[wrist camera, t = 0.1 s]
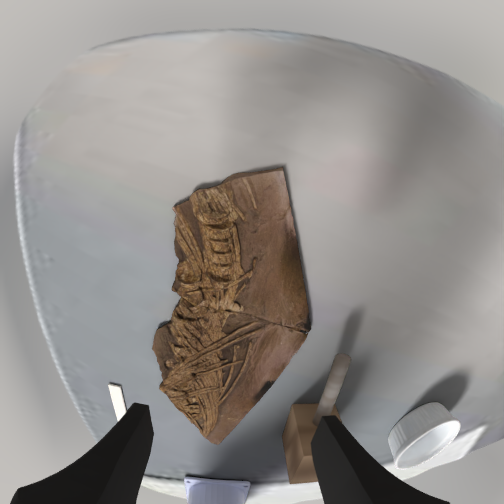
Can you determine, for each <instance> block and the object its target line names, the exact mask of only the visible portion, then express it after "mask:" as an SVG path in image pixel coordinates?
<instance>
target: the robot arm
mask: <svg viewBox="0 0 504 504" xmlns="http://www.w3.org/2000/svg"><path fill="white" fill-rule="evenodd" d="M153 436H154V432H153V427H152V422H151V416H150V410H149V405H144V404H139V403H133V404H132V405H131V407H130V408H129V409H128V410H127V412H126V413H125V414H124V415H123V417H122V418H121V419H120V420H119V421H118V422H117V424H116V425H115V426H114V427H113V428H112V429H111V430H110V431H109V432H108V433H107V434H106V435H105V436H104V437H103V438H102V439H101V440H100V441H99V442H98V443H97V444H96V445H95V446H94V447H93V448H92V449H90V450H89V451H88V452H87V453H86V454H84V455H83V456H82V457H81V458H79V459H78V460H76V461H75V462H74V463H72V464H71V465H69V466H67V467H66V468H64V469H63V470H61V471H59V472H57V473H56V474H53V475H52V476H49V477H47V478H45V479H43V480H41V481H38V482H36V483H33V484H30V485H27V486H24V487H21V488H18V489H17V491H16V493H15V494H14V496H13V498H12V501H11V503H10V504H136V500H137V495H138V491H139V488H140V485H141V482H142V479H143V475H144V472H145V469H146V466H147V463H148V459H149V456H150V452H151V447H152V442H153ZM311 451H312V459H313V464H314V468H315V471H316V475H317V479H318V482H319V486H320V489H321V493H322V496H323V500H324V504H450V503H449V502H447V501H444V500H441V499H438V498H435V497H432V496H430V495H428V494H425V493H423V492H421V491H419V490H417V489H415V488H413V487H412V486H410V485H408V484H406V483H405V482H403V481H401V480H400V479H398V478H397V477H395V476H394V475H393V474H391V473H390V472H389V471H387V470H386V469H385V468H384V467H383V466H381V465H380V464H379V463H378V462H377V461H376V460H375V459H374V458H373V457H372V456H371V455H370V454H369V453H368V452H367V451H366V450H365V449H364V448H363V447H362V446H361V445H360V444H359V443H358V442H357V440H356V439H355V438H354V437H353V436H352V435H351V433H350V432H349V431H348V430H347V429H346V427H345V426H344V425H343V424H342V423H341V421H340V420H339V419H338V418H337V416H336V415H329V416H322V417H321V420H320V422H319V424H318V427H317V429H316V432H315V434H314V436H313V438H312V441H311ZM184 482H185V489H186V495H187V501H188V503H187V504H245V501H246V498H247V494H248V491H249V488H250V482H249V481H230V480H215V479H204V478H195V477H185V478H184Z"/></svg>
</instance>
